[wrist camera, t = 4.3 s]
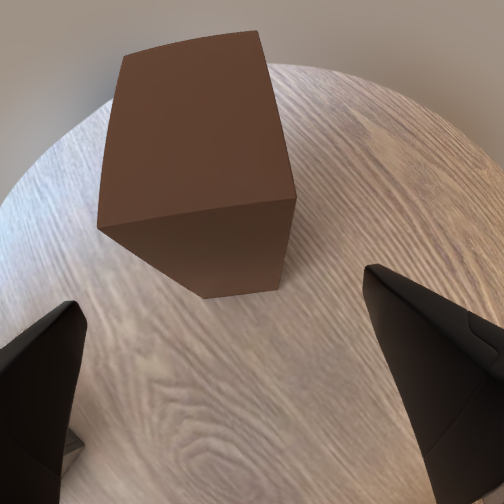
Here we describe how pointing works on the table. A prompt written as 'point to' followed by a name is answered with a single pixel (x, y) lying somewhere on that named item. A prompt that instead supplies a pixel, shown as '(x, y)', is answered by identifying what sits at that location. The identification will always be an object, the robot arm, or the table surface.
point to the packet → (199, 166)
